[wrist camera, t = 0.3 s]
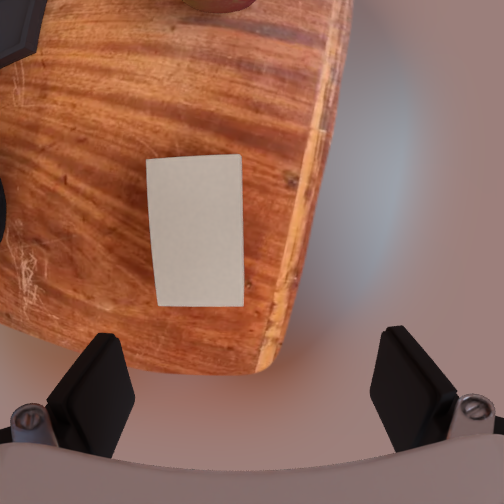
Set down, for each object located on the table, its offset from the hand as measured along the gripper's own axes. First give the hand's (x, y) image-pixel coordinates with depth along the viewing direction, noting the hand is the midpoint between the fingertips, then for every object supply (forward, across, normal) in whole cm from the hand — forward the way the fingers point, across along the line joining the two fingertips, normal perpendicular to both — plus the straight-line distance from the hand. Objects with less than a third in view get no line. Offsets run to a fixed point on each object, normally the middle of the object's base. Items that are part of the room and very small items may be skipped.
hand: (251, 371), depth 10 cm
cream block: (+15, +4, -2) cm, 16 cm away
